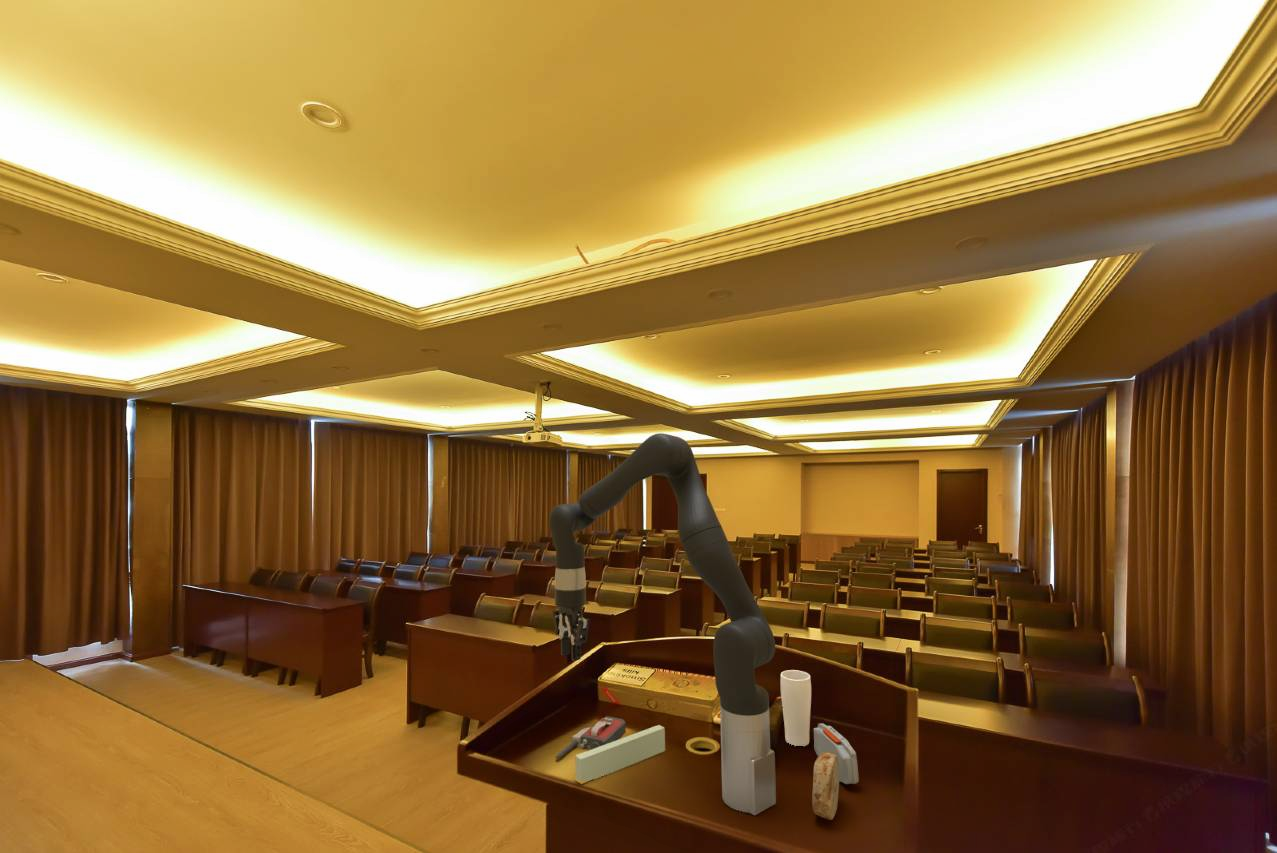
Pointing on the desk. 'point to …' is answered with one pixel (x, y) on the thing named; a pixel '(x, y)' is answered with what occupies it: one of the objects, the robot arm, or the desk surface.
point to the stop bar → (619, 753)
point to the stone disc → (825, 786)
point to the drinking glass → (796, 706)
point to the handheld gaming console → (837, 752)
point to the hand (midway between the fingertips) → (570, 656)
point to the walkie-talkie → (597, 735)
